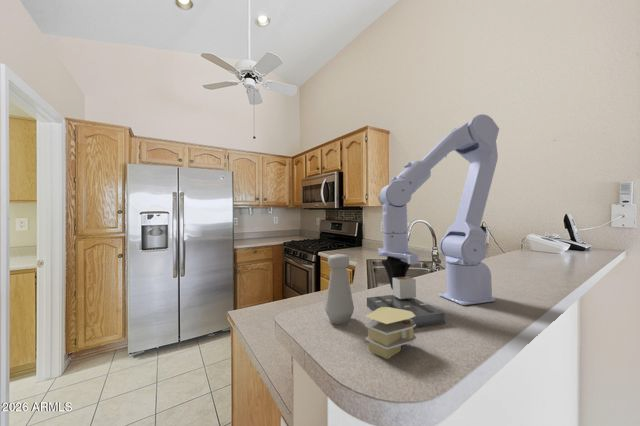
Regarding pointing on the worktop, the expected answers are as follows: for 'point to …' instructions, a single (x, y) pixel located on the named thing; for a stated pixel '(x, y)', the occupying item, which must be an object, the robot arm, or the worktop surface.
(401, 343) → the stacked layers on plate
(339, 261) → the salt shaker
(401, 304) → the console
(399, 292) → the white striped block
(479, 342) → the worktop surface
